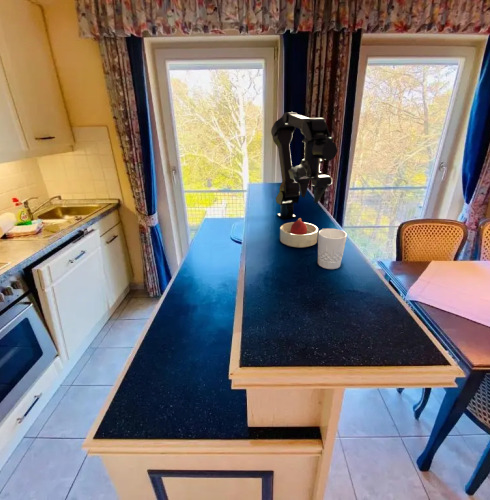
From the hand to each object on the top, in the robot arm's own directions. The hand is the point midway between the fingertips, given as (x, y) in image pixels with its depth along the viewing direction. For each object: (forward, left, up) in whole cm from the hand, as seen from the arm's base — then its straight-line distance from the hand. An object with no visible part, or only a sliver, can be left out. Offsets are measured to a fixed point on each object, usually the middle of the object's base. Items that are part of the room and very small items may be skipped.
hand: (309, 199), depth 106 cm
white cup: (+28, -9, -12) cm, 32 cm away
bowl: (+9, -9, -12) cm, 17 cm away
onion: (+9, -9, -12) cm, 17 cm away
